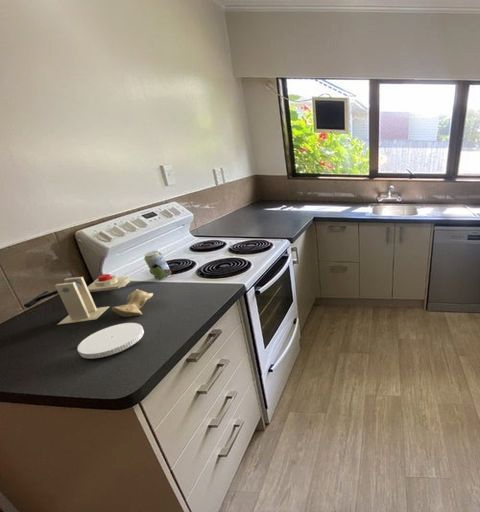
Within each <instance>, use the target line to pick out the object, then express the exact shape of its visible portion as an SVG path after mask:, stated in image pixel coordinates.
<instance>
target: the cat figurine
mask: <svg viewBox="0 0 480 512" xmlns="http://www.w3.org/2000/svg"><path fill="white" fill-rule="evenodd" d="M153 296H154V293H153V292H147V291H145V290H141V289H139V288H136V289H135V290H133V291H132V292H130V293H129V294H128V295H127V297H126V302H127V303H126V304H121V305H116V306H112V307H111V310H112V311H113V313H115V314H117V315H118V316H120V317H122V318H128V317H129V318H131V317H138V316H141V315H143V313H142V311H141V308H143V307H144V305H145V304H146V302H147V301H148V300H150V299H151V298H152V297H153Z"/></svg>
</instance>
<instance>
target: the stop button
mask: <svg viewBox="0 0 480 512" xmlns="http://www.w3.org/2000/svg"><path fill="white" fill-rule="evenodd" d="M97 279H99V281H100V282H101V281H107V280H110V279H112V278H111V274H110V273H104V274H100V275H98V276H97Z"/></svg>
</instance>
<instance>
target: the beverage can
mask: <svg viewBox="0 0 480 512" xmlns="http://www.w3.org/2000/svg"><path fill="white" fill-rule="evenodd" d="M143 259H144V262H145V263H146V265H147V267H148V268H149V270H150V271H151V273H152V275H153V277H154V278H155V280H159V281H160V280H165V279H168V278H169V277H170V276H171V275H172V274H173V272H172V270H171V269H170V266H169V265H168V262H167V261H166V259H165V257H164V256H163V253H161V251H160V252H159V250H152V251H149V252H147V253H145V254H144V258H143Z"/></svg>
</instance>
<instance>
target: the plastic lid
mask: <svg viewBox="0 0 480 512" xmlns="http://www.w3.org/2000/svg"><path fill="white" fill-rule="evenodd" d="M144 334H145V330H144V328H143V326H142V324H140V323H137V322H124V323H119V324H115V325H111V326H107V327H104V328H102V329H100V330H98V331H96V332H94V333H91V334H90V335H89V336H87V337H86V338H84V339H83V340H81V342H80V343H79V344H78V345H77V352H78V354H79V356H80V357H82V358H84V359H100V358H104V357H109V356H112V355H115V354H118V353H120V352H123V351H125V350H127V349H129V348H130V347H132V346H134V345H135V344H136V343H138V342H139V341H140V340H141V339H142V338H143V336H144Z"/></svg>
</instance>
